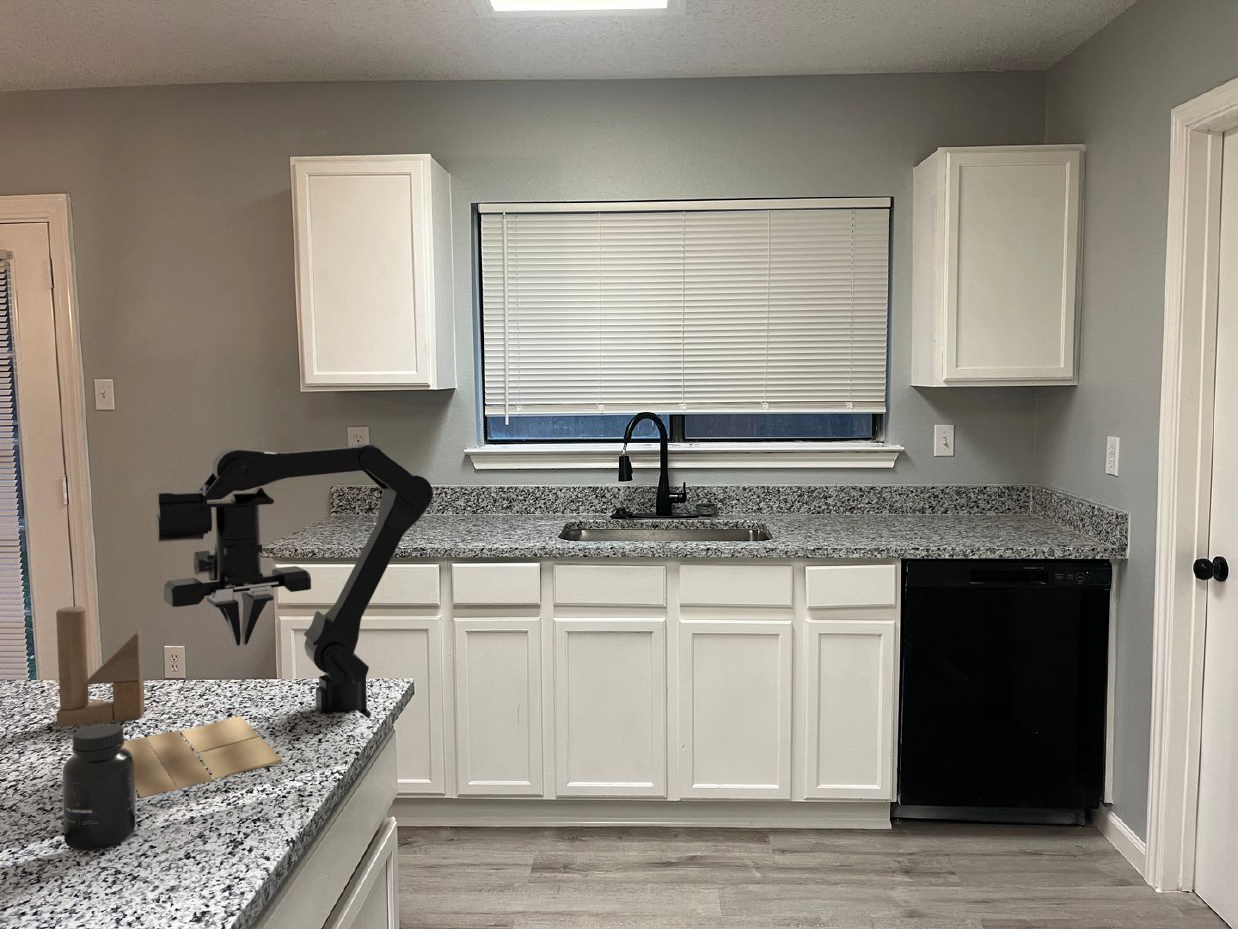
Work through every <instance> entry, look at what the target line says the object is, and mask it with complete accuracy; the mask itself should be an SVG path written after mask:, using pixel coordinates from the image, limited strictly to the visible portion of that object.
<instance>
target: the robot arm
mask: <svg viewBox="0 0 1238 929" xmlns="http://www.w3.org/2000/svg"><path fill="white" fill-rule="evenodd" d="M211 468H212V469H211V470H212V472H211V474H210V475H209V477H208V478H207V479H206V480H205V481H204V483H203V484H202V485H201V487H200V488H199V490H198V491H194V492H193V491H191V492H170V491H161V492H158V493H157V506H156V507H157V508H156V510H157V513H155V525H156V526H155V527H156V528H155V529H156V539H157V540H156V541H157V542H158V543H168V542H169V543H170V542H184V541H185V542H186V541H198V540H199V541H200V540H204V539H205V538H204V536H205V535H209V532H210V533H211V532H212V530H213V513H212V508H215V536H216V537H215V538H216V540H215V543H214V553H213V554H211V553H210V550H202V551H195V552H194V553H193V569H194V574H195V575H196V576H199V575H208V580H209V581H208V582H202V581H201V580H199V579H197V578H196V577H188V578H179V579H169V580H167V582H166V583H165V584H164V586H163V601H165V602H166V603H167V604H169V605H170V606H171V607H173V608H180V607H181V608H182V607H187V606H189V607H190V606H195V605H196V606H197V605H199V604H200V603H201V602H202V601H203V600H204V599H206V602H207V603H208V604H210V605H211V606H213V607H215V608H216V609H217V608H218V609H219V611H220V613H221V614H222V616H223V618H224V620H225V622H226V625H227V627H228V630H229V632H230V635H231V637H232V640H233V643H234V644H235V646H236V647H240V646H241V642H242V644H243V645H248V643H249V641H250V638H251V636H252V634H253V631H254V629H255V626H256V624H257V622H258V620H259V618H260V615H261V614H262V613H263V610H264V609H265V606H266V605H267V603H268V602H271V601H273V600H275V599H274V598H275V597H274V595H272V594H271V590H272V589H273V588H280V587H281V588H282V587H284V588H285V589H287V591H289V592H290V593H294V592H295V593H296V592H302V591H309V590H311V589H312V578H311V577H312V576H311V573H309V571H307V570H306V569H304V568H301V567H299V566H297V565H295V566H286V567H285V566H284V567H276V568H273V569H272V572H271V574H268V575H264V573H263V572H261V571H262V568H261V553H263V544H261V533H260V532H261V530H260V529H261V528H260V526H261V525H260V522H261V521H260V506H261V505H262V506H263V505H273V504H274V502H275V500H274V499H273V498H272V497H270V496H269V494H267V493H266V492H265V490H264V489H263V486H267V485H270V484H272V483H275V482H277V481H281V480H284V479H290V478H299V477H309V476H319V475H328V474H329V475H330V474H339V473H350V472H361V471H362V472H363V473H364V474H365V475H366V476H367V477H368V478H369V479H371V480H372V481H373V483H375V485H377V487H379V488H380V489H382V490H383V491H382V496H381V498H380V501H379V507H378V515H377V520H376V522H375V523H376V524H375V526H374V527H373V530H372V531H371V533H370V535H369V537H368V539H367V541H366V543H365V545H364V547H363V549H362V551H361V553H360V554H359V557H358V558H357V561H356V563H355V565H354V567H353V568H352V570H351V572H350V574H349V576H348V578H347V580H346V582H345V584H344V585H343V586H344V587H343V588H342V590H341V592H340V593H339V596H338V598H337V600H336V601H335V603H334V605H333V606H332V607H331V608H330V609H328V611H327V612H326V613H324V614H323V613H322V612H320V611H319V610H317V611H316V612H315V613H314V616H313V618H312V621H311V624H310V626H309V627H308V629H307V630H306V631H305V632H303V636H304V637H305V638H306V639H305V641H304V646H303V648H304V651H305V654H306V656H307V657H308V658H309V660H311V662H312V663H313V664H314V665H315V666H316V668H317V669H318V670H320V671H321V672H323V673H324V674H323V675H320V676H318V685H319V686H316V688H315V710H317V711H318V712H319V713H321V714H322V715H323V714H332V713H333V714H334V713H335V714H336V713H337V714H338V713H349V712H353V711H354V712H355V711H357V712H359V713H360V714H361V715H363V716H364V717H366V718H368V717H371V716H372V711H370V710H368V707H367V706H368V705H367V704H368V702H367V675H368V672H369V670H370V667H369V665H368V664H366V663H365V662H364V661H363V660H362V659H361V658H360V656H358V655H357V654H356V653H355V651H356V648H357V644H358V640H359V638H360V630H361V629H360V628H361V622H362V617H363V616H364V614H365V612H366V610H367V607H368V605H369V604H370V602H371V600H372V598H373V596H374V594H375V591H376V589H377V588H378V585H379V584H380V582H381V580H382V578H383V576H384V574H385V572H386V569H387V568H388V567H389V564H390V562H391V560H392V558H393V556H394V554H395V552H396V551H397V548H398V546H399V544H400V543H401V541H402V539H403V537H404V534H405V533H406V532H407V531H408V530H410V529H411V527H413V525H415V524H416V523H417V522H418V521H419V520H420V519H421V517H422V516H423V514H424V513H425V512H426V511H427V509H428V507H429V506H430V505H431V503H432V500H433V498H434V491H433V488H432V485H431V483H430V482H429V481H428V480H427V478H425V477H423V476H420V475H417V474H413V473H410V471H408V470H407V469H405V468H404V467H403V466H401V465H400V464H399V463H397V462H396V461H395V460H393V459H392V458H390V457H389V456H388V455H387V454H385V453H384V452H383V451H382V450H381V448H379V446H376V445H374V444H368V443H360V444H358V445H353V446H340V447H338V446H337V447H329V448H327V447H326V448H318V449H317V448H316V449H306V450H305V449H303V450H292V451H269V450H260V449H251V448H250V449H249V448H238V447H231V448H226V449H224V450H222V451H220V452H219V453H218V454H217V455H216V456H215V458H214V460H213V462H212V467H211ZM254 488H255V490H254V491H252V492H244V491H248V490H251V489H254ZM242 491H243V492H242ZM233 492H239V493H233ZM240 492H242V493H240ZM229 495H231V496H230V499H227V500H222V499H224V498H226V497H227V496H229ZM234 593H241V599H242V607H243V608H242V618H241V619H242V623H241V619H240V606H239V605H240V604H239V601H238V600H236V599H234ZM205 597H206V598H205ZM241 639H242V640H241Z"/></svg>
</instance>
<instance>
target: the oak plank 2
mask: <svg viewBox="0 0 1238 929" xmlns="http://www.w3.org/2000/svg"><path fill="white" fill-rule="evenodd" d="M197 757H199V758H200V761H202V763H204V764H203V765H204V766H206V769H208V771H209V772H210V773H211V774H212V776H213V777H214V779H219V778H222V777H228V776H232V775H236V774H237V775H238V774H240V773H245V772H249V771H252V770H256V769H260V768H265V767H270V766H273V765H278V764H281V763H283V759H282V757H280V755H279V754H278V753H277V752H276V751H275V750H274V749H273V748H272V747H271V746H270V745H269V744H268V743H267V742H266V741H265V740H264V739H263V738H262V737H261V736H259V737H258V738H254V739H250V740H246V741H243V742H239V743H235V744H232V745H228V746H224V747H221V748H217V749H212V750H207V751H203V752H198V753H197Z"/></svg>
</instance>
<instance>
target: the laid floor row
mask: <svg viewBox="0 0 1238 929" xmlns="http://www.w3.org/2000/svg"><path fill="white" fill-rule="evenodd" d="M122 747H123V748H126V749H128V750H129V751H130V752H131V753H132V755H133V756H134V768H135V790H136V791H137V793H138V794H139V795H138V796H139V797H140V799H143V798H147V797H150V796H151V797H152V796H154V795H159V794H164V793H167V792H171V791H176V790H180V789H184V788H189V787H192V786H197V785H201V784H204V783H209V782H214V781H215V778H213V777H212V775H211V774H210V773H209V770H207V768H206V767H205V765H204V764H203V762H201V759H199V758H198V755H196V754H195V751H193V749H192V748H191V747H190V746H189V743H187V740H185V739H184V736H183V735H182V734H181V732H179V731H178V730H175V731H170V732H164V733H160V734H154V735H150V736H144V737H139V738H135V739H130V740H124V745H123V746H122Z"/></svg>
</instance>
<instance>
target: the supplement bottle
mask: <svg viewBox="0 0 1238 929" xmlns="http://www.w3.org/2000/svg"><path fill="white" fill-rule="evenodd" d="M124 741H125V737H124V728H123V726H122V725H120V724H116V723H97V724H94V725H90V726H89V725H88V726H85V727H83V728H80V729H77V731H75V732H74V733H73V734H72V747H71V748H72V753H73V754H74V755H72V756H71V757H69V759H68V760H66V762H65V764H64V765H63V768H62V802H63V805H62V806H63V810H62V811H63V832H64V834H63V835H64V836H63V840H64V842H65V844H66V846H67V847H68V848H70V849H73V850H76V851H97V850H102V849H105V848H106V849H107V848H109V847H112V846H115V845H118V844H120V843H122V842H123V841H125V840H127V839H129V837H130V836H131V835H132V834H133V833H134V831H135V830H136V787H135V768H134V756H133V755H132V753H131V752H130V751H129V750H128V749H126V748H123V747H122V746H123V745H124Z"/></svg>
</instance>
